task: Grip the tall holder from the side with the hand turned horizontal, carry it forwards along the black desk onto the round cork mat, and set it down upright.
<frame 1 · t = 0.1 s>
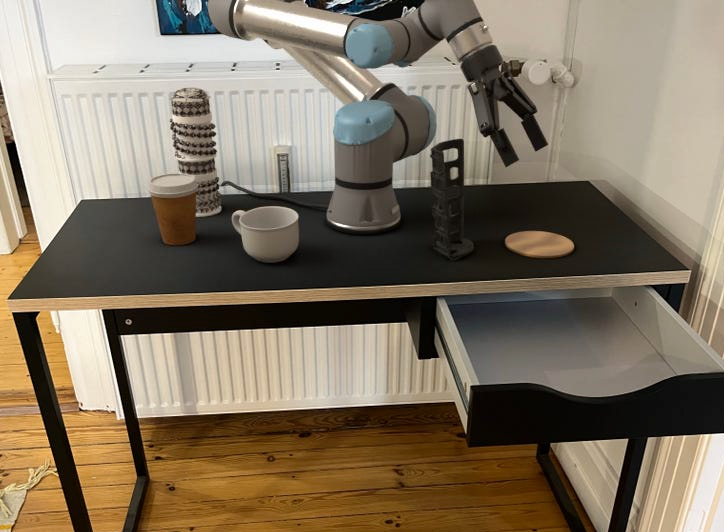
hand: (527, 156, 146), 15 cm above the table, tool tilted 35°, fingers open, 13 cm apart
disposable coffee cup: (179, 240, 150), on the table
holder: (449, 250, 145), on the table
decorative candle: (201, 211, 165), on the table
teacup: (265, 255, 144), on the table
cork mat: (539, 245, 147), on the table
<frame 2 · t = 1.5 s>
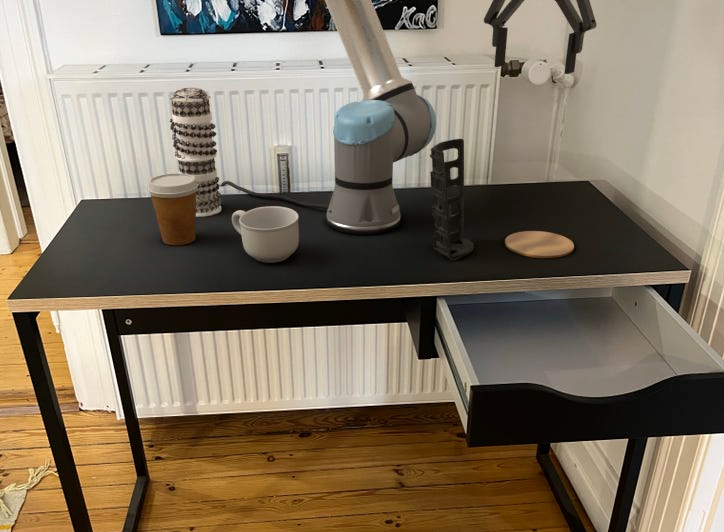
hand: (533, 69, 139), 31 cm above the table, tool pointing down, fingers open, 13 cm apart
nothing on the table moved.
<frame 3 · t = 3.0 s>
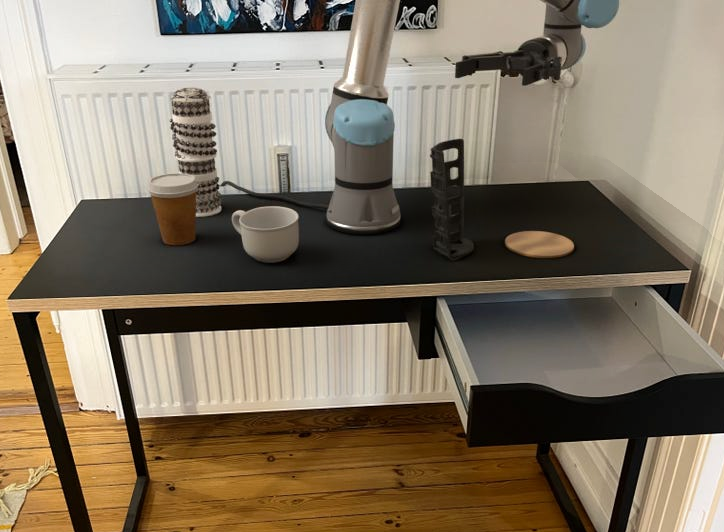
hand: (489, 73, 138), 30 cm above the table, tool horizontal, fingers open, 13 cm apart
nothing on the table moved.
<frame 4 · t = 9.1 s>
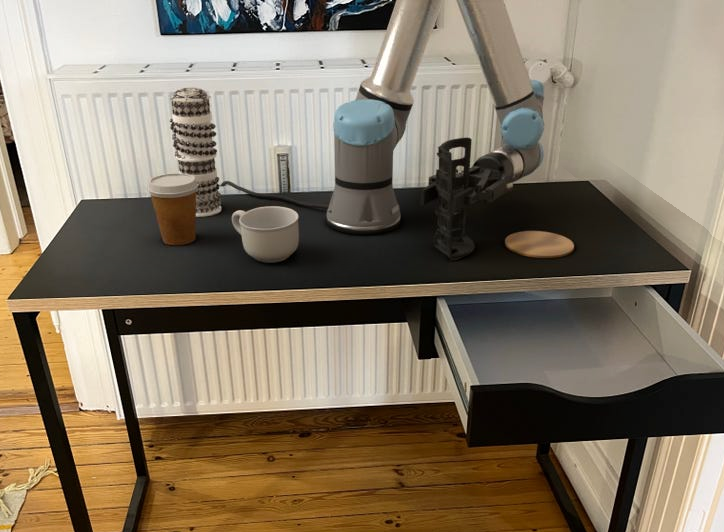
hand: (438, 200, 136), 11 cm above the table, tool horizontal, fingers closed on holder, 6 cm apart
holder: (449, 248, 145), on the table, touching gripper
everything else where it was.
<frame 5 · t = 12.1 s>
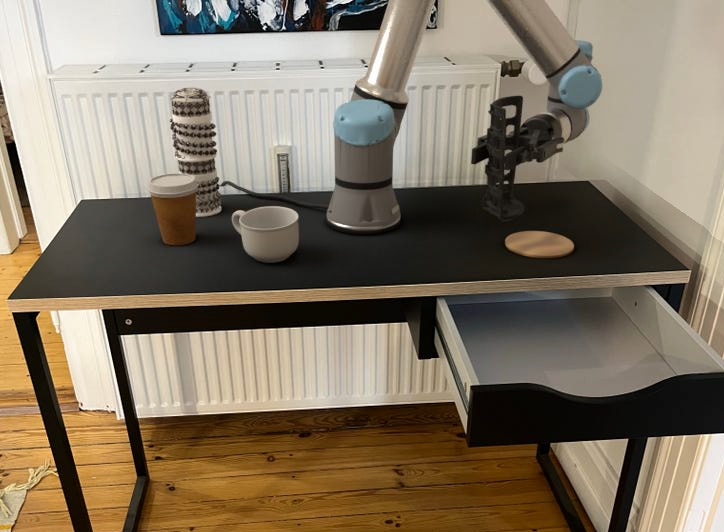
hand: (490, 159, 134), 18 cm above the table, tool horizontal, fingers closed on holder, 6 cm apart
holder: (498, 211, 143), point 7 cm above the table, touching gripper
everything else where it was.
when the fingers open (11 cm above the table, at t = 15.6 s): holder stays where it is, resting on cork mat.
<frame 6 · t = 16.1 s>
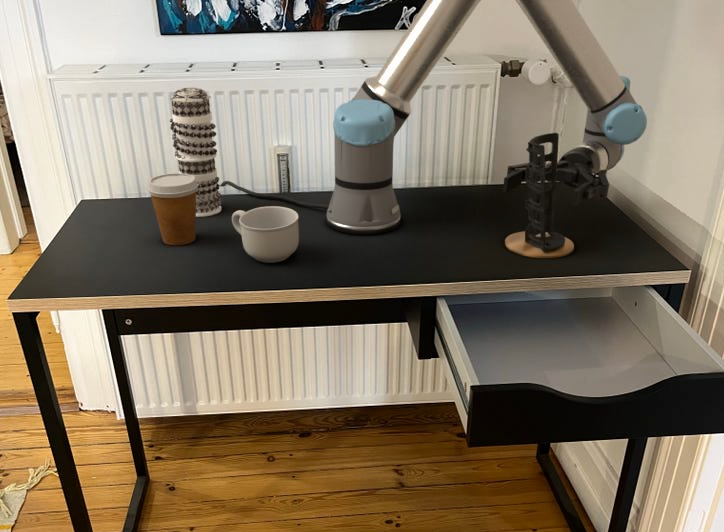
hand: (538, 191, 139), 11 cm above the table, tool horizontal, fingers open, 13 cm apart
holder: (540, 243, 147), resting on cork mat
everything else where it was.
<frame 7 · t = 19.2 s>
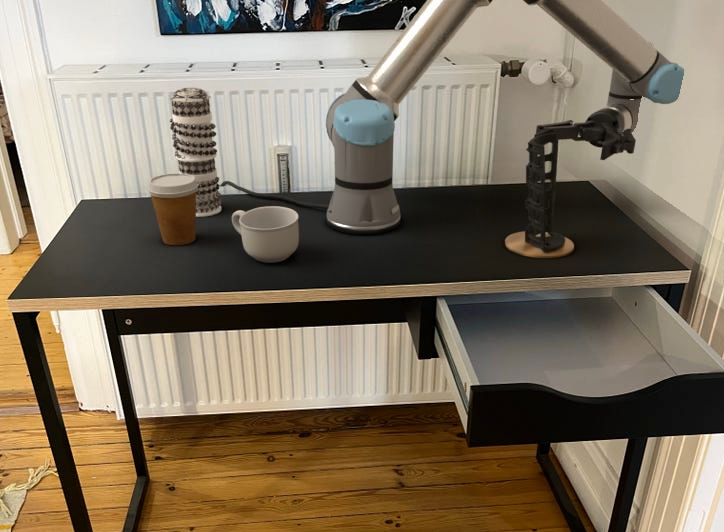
hand: (568, 147, 146), 17 cm above the table, tool horizontal, fingers open, 13 cm apart
nothing on the table moved.
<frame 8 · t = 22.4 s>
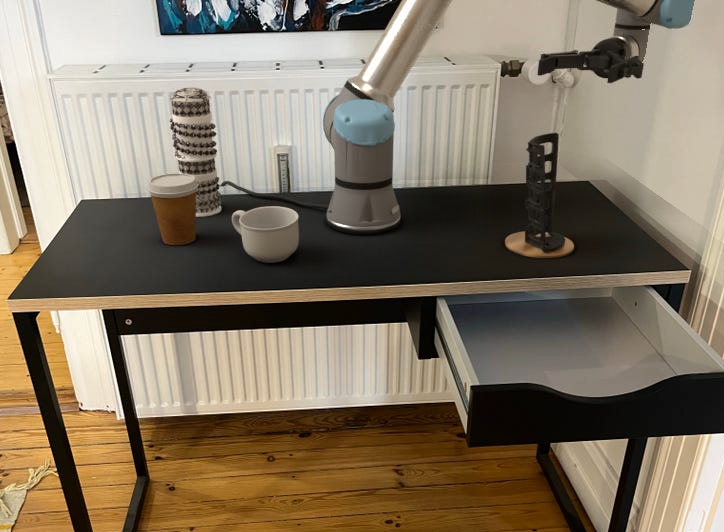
hand: (574, 71, 141), 30 cm above the table, tool horizontal, fingers open, 13 cm apart
nothing on the table moved.
at the end: holder inside the target area on the cork mat (0.2 cm from its centre), point 0.3 cm above the cork mat's base; holder tilted 0°; the gripper is holding nothing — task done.
